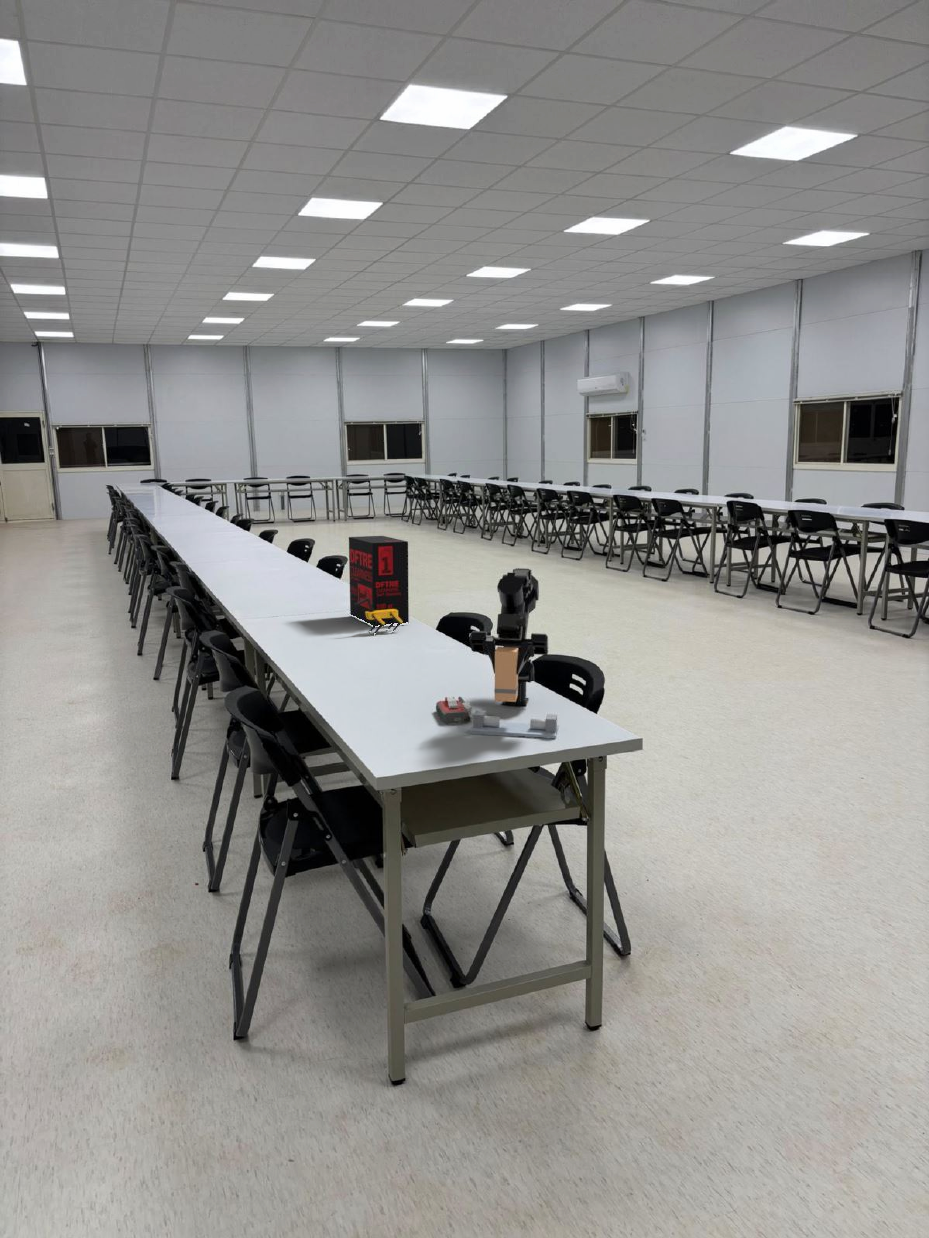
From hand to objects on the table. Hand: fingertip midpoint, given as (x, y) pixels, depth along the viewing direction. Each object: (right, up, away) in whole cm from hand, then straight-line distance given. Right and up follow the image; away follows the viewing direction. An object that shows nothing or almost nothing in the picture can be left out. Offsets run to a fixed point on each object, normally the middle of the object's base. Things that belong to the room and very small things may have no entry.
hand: (505, 673), depth 209 cm
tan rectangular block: (0, -6, +3) cm, 7 cm away
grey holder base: (+2, -14, +1) cm, 14 cm away
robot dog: (-42, +7, +114) cm, 121 cm away
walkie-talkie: (-12, -12, +15) cm, 23 cm away
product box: (-43, +12, +138) cm, 145 cm away
